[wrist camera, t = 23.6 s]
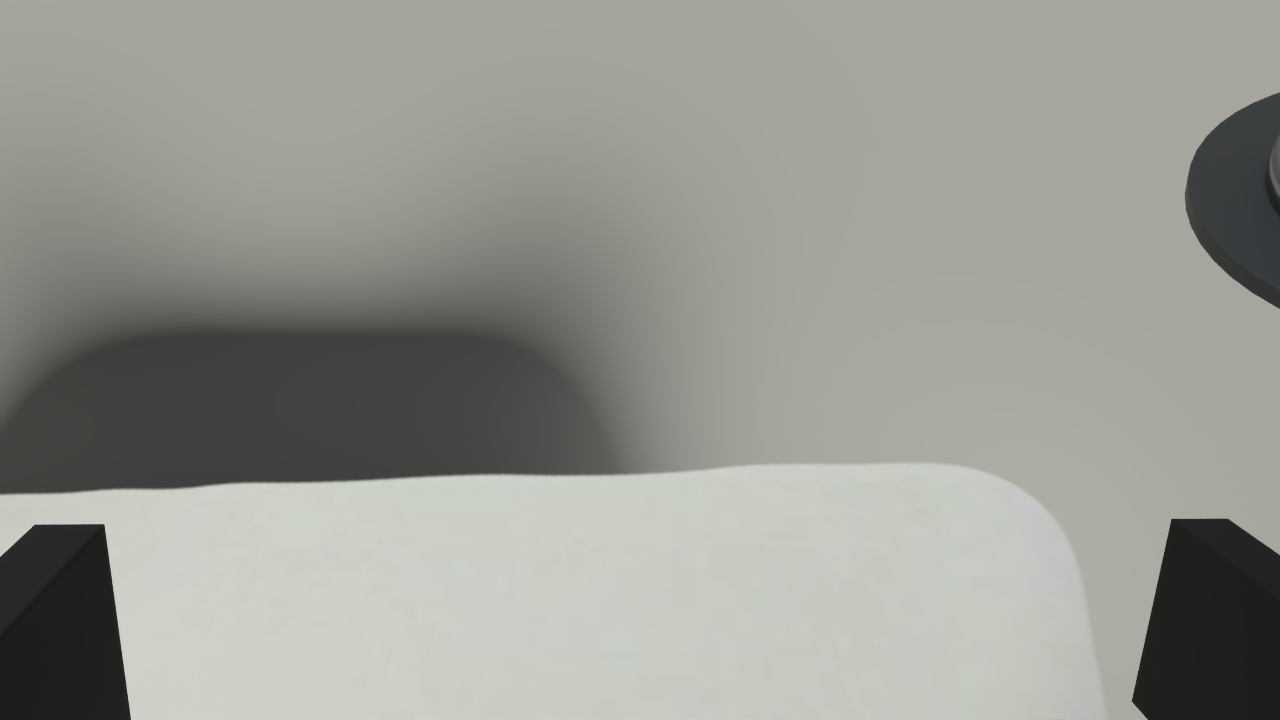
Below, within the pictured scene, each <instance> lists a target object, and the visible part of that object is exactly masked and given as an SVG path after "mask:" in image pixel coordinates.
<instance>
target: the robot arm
mask: <svg viewBox="0 0 1280 720" xmlns="http://www.w3.org/2000/svg"><path fill="white" fill-rule="evenodd" d="M1265 182H1266V190H1267V193H1268V196H1269V199H1270V201H1271V203H1272V205H1273V207H1274V208H1275V209H1276V211H1277V212H1278V214H1279V215H1280V134H1279V136H1278V138H1277V140H1276V142H1275V144H1274V146H1273V149H1272V153H1271V157H1270V160H1269V164H1268V167H1267V171H1266V180H1265ZM1132 702H1133V703H1134V704H1135V706H1136V707H1137V708H1138V709H1139V710H1140V711H1141V712H1142V713H1143V715H1144V716H1145V717H1146V718H1147V719H1148V720H1280V555H1279V554H1277V553H1276V552H1274V551H1273V550H1272V549H1270V548H1269V547H1267V546H1266V545H1264V544H1263V543H1262V542H1260V541H1259V540H1257V539H1256V538H1254V537H1253V536H1251V535H1250V534H1249V533H1247V532H1246V531H1244V530H1243V529H1241V528H1240V527H1239V526H1237V525H1236V524H1234V523H1233V522H1232V521H1230V520H1229V519H1171V524H1170V529H1169V534H1168V538H1167V542H1166V547H1165V552H1164V556H1163V561H1162V565H1161V570H1160V574H1159V579H1158V584H1157V588H1156V593H1155V597H1154V602H1153V607H1152V611H1151V616H1150V620H1149V625H1148V630H1147V634H1146V639H1145V643H1144V648H1143V653H1142V657H1141V662H1140V666H1139V671H1138V675H1137V680H1136V685H1135V689H1134V694H1133V698H1132ZM0 720H131V717H130V709H129V702H128V695H127V687H126V680H125V673H124V665H123V658H122V651H121V643H120V636H119V629H118V621H117V614H116V607H115V599H114V592H113V585H112V577H111V570H110V563H109V555H108V548H107V541H106V533H105V526H104V524H80V525H34V526H33V527H32V528H31V529H30V530H29V531H28V532H27V533H26V534H24V535H23V536H22V537H21V538H20V539H19V540H18V541H17V542H16V543H15V544H14V545H13V546H12V547H11V548H9V549H8V550H7V551H6V552H5V553H4V554H3V555H2V556H1V557H0Z"/></svg>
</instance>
